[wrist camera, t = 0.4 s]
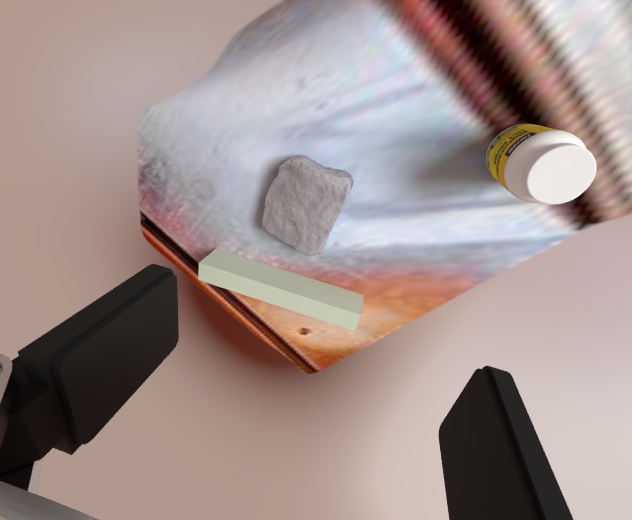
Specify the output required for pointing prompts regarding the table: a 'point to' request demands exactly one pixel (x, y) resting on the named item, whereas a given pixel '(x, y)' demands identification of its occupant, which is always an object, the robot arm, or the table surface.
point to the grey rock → (305, 203)
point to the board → (282, 288)
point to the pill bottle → (540, 163)
